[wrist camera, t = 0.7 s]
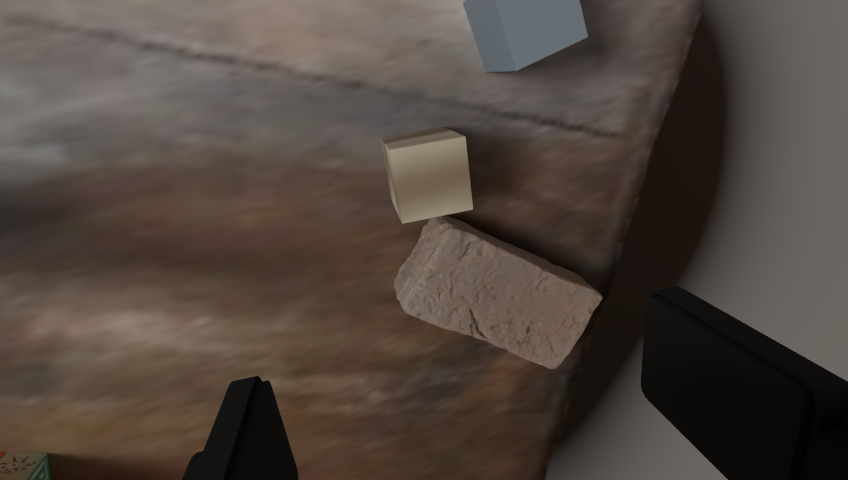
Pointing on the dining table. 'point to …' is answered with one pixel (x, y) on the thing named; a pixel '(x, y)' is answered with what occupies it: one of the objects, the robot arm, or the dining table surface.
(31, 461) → the stack of blocks
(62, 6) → the dining table surface
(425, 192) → the beech block
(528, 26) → the slate block
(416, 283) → the brick
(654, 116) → the dining table surface
